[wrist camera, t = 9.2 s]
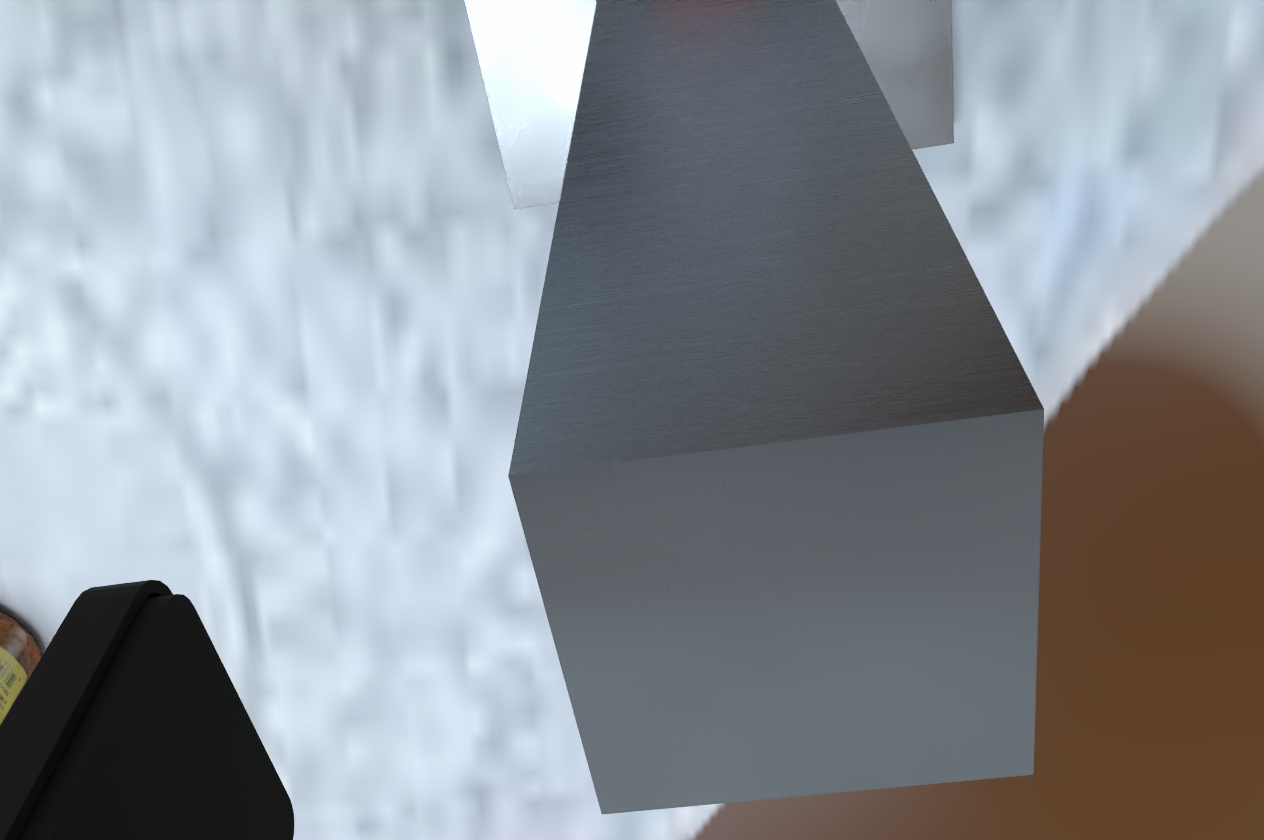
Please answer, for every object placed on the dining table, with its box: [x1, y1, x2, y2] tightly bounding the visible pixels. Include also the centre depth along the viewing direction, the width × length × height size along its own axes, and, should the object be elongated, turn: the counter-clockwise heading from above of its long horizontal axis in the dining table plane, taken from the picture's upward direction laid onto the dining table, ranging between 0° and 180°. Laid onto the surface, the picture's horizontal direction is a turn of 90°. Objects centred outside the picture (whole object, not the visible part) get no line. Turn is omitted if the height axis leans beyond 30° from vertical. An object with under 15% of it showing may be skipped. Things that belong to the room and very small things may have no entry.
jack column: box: [509, 0, 1044, 814], centre depth 19 cm, size 4×4×22 cm
